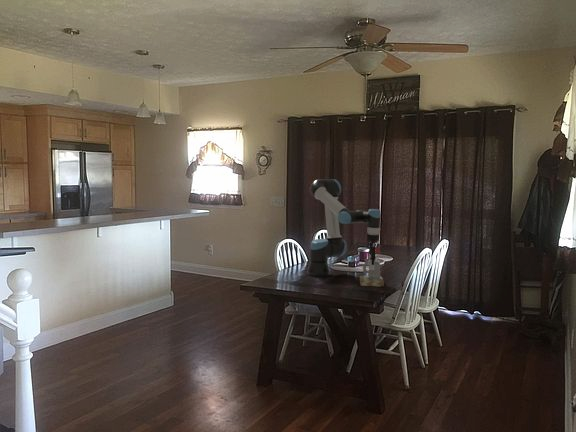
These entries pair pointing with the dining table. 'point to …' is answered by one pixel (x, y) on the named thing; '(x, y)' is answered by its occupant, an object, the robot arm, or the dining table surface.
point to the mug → (372, 273)
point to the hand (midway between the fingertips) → (371, 267)
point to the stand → (371, 281)
